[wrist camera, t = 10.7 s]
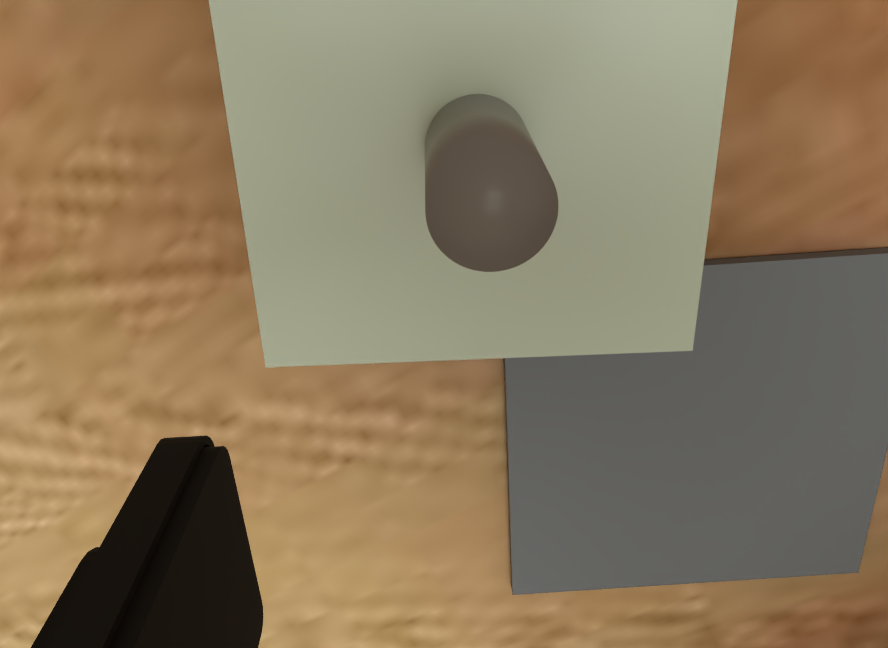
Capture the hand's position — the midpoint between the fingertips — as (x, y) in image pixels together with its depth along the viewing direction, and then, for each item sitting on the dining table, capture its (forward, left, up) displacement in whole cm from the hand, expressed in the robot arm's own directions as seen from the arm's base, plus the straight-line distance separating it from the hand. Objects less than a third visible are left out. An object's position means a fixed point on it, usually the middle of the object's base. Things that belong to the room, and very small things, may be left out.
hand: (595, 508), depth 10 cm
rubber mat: (-16, -10, -23) cm, 29 cm away
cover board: (+1, +1, -17) cm, 17 cm away
